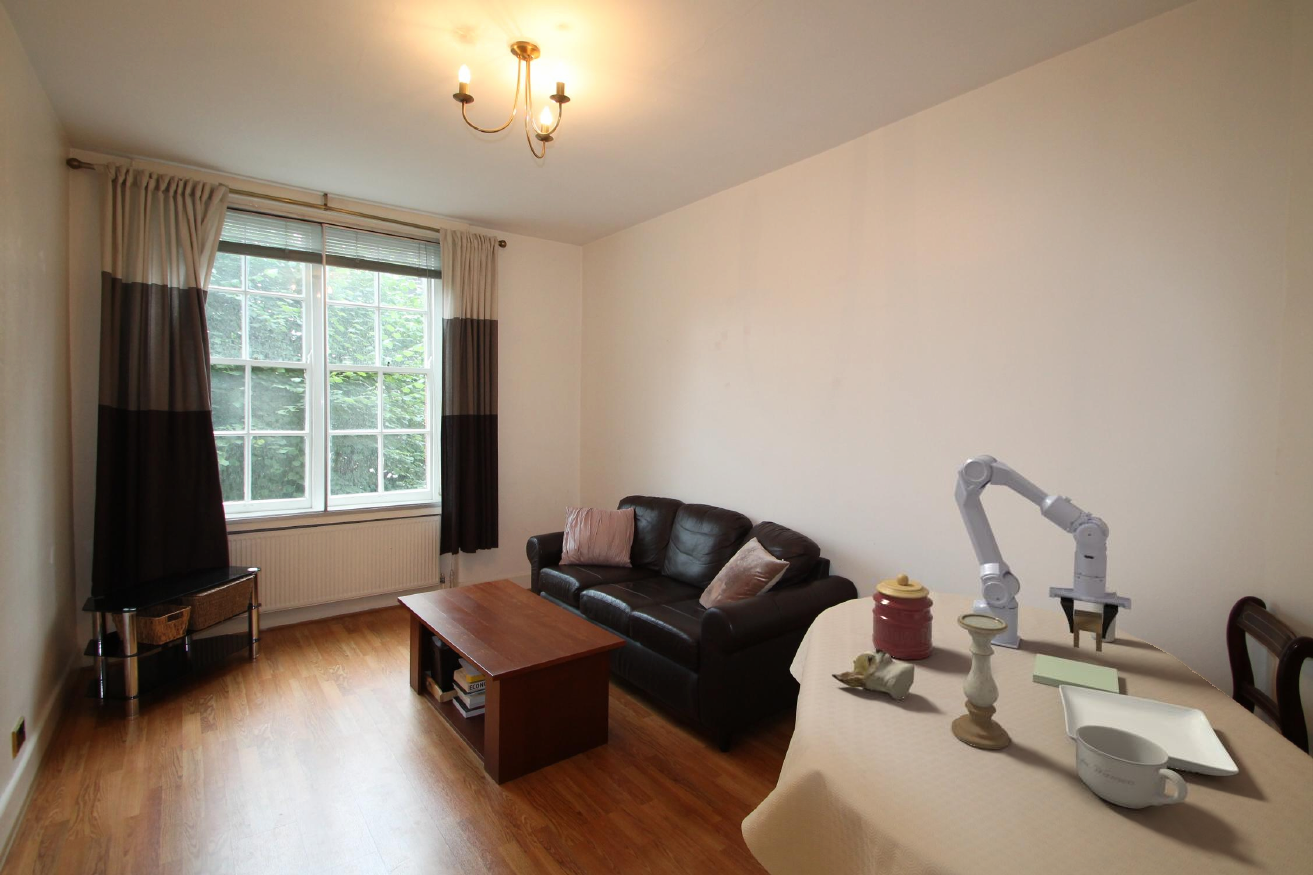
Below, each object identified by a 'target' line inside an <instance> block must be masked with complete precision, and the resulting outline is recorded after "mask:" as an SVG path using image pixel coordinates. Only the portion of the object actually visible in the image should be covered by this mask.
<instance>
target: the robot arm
mask: <svg viewBox="0 0 1313 875" xmlns="http://www.w3.org/2000/svg"><path fill="white" fill-rule="evenodd" d="M988 484H989V485H991V486H992V485H993V486H1003V487H1004V486H1005V487H1007V488H1009V489H1011V490H1012V491H1014V492H1015V493H1017V494H1018V495H1021V496H1022V497H1024V498H1025V499H1027V500H1028V501H1030V502H1031V503H1033V504H1035V505H1036V506H1038V507H1039V510H1040V514H1041V516H1043V517H1044V518H1045V519H1047V520H1048V521H1050V522H1051V523H1053V524H1054V525H1056V526H1058V528H1060V529H1062V530H1063V531H1065V532H1066V533H1067V534H1072V536H1073V539H1074V541H1075V550H1074V562H1073V563H1074V565H1073V567H1074V568H1073V583H1072V584H1073V585H1072V586H1073V588H1069V587H1057V586H1056V587H1055V586H1049V589H1048V592H1049V593H1048V598H1052V599H1053V598H1059V599H1060V601H1059V603H1060V606H1061V608H1062V610H1063V611H1064V614H1065V617H1066V619H1067V622H1068V623H1067V624H1068V626H1069V627H1068V628H1069V633H1070V634H1073V635H1074V609H1075V608H1074V607H1075V601H1078V602H1084V603H1090V604H1091V603H1096V604H1102V605H1103V623H1102V639H1106V634H1107V631H1108V628H1109V626H1110V624H1111V622H1112V621H1113V619H1114V618H1115V617H1116V618H1117V615H1118V613H1119V608H1121V609H1122V608H1123V609H1124V610H1130V611H1132V598H1129V597H1124V596H1119V595H1117V596H1115V595H1111V594H1106V593H1105V590H1106V587H1107V585H1106V584H1107V570H1108V569H1107V566H1108V565H1107V563H1108V555H1107V551H1108V547H1107V540H1108V538H1109V535H1110V528H1109V526H1108V525H1107V523H1106V522H1105V521H1104V520H1103V519H1102V518H1100V517H1098V516H1095V515H1094V516H1093V513H1092V512H1090V511H1087V512H1086V511H1084V510H1083V509H1082V508H1080V507H1079V506H1077V505H1075V504H1073V503H1072V502H1071V501H1072V498H1070V497H1069V496H1065V497H1063V496H1062V495H1059V494H1054V495H1050V494H1048V492H1045V491H1044V490H1043V489H1041V488H1040V487H1039V486H1037V485H1036V484H1035V483H1033V482H1031V481H1030V480H1029V479H1027V478H1026V477H1024V476H1023V475H1022V474H1021V473H1019V472H1017V471H1016V470H1015V469H1013V468H1012V467H1010V466H1009V465H1008V464H1006V463H1005V462H1004V461H1003V462H1002V461H1001V460H1000V461H998V460H997V458H996V457H994V456H991V455H989V454H983V455H978V456H977V457H972V458H970V459H967V460H965V462H964V463H962V465H961V467H960V468H959V469H958V471H957V480H956V485H955V489H954V492H953V493H954V494H953V495H954V500H955V501H956V502H955V503H956V505H957V507H958V510H959V512H960V515H961V517H962V518H961V519H962V520H963V523H964V526H965V530H966V532H967V534H968V536H969V539H970V541H971V545H972V548H973V550H974V552H975V555H976V558H977V562H978V563H979V566H980V569H979V570H980V571H979V578H980V581H981V596H982V598H983V599H974V601H973V604H972V605H973V606H972V613H977V614H985V615H990V616H994V617H997V618H999V619H1001V620H1003V621H1005V622H1006V624H1007V626H1008V630H1007V632H1005V633H1002V634H996V637H995V638H994V639H993V640H992V641H991V645H998V646H1002V647H1008V648H1013V649H1018V648H1019V645H1020V641H1021V636H1020V635H1018V624H1019V602H1018V601H1017V598H1016V596H1017V595H1018V594H1019V592H1020V590H1021V584H1020V583H1021V582H1020V581H1019V579H1018V577H1016V575H1014V573H1013V572H1012V571H1011V568H1010V566H1009V565H1008V564H1007V562H1006V561H1005V560H1004V559H1003V556H1002V554H1001V550H1000V548H999V546H998V543H997V541H996V538H995V535H994V533H993V530H992V528H991V524H990V522H989V520H988V517H987V514H986V512H985V509H984V506H983V504H982V501H981V499H980V496H981V495H982V493H983V492H984V491H985V489H986V486H987V485H988ZM971 640H972V641H973V639H972V638H971Z"/></svg>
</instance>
